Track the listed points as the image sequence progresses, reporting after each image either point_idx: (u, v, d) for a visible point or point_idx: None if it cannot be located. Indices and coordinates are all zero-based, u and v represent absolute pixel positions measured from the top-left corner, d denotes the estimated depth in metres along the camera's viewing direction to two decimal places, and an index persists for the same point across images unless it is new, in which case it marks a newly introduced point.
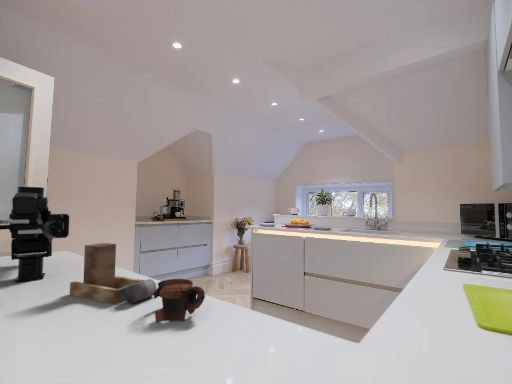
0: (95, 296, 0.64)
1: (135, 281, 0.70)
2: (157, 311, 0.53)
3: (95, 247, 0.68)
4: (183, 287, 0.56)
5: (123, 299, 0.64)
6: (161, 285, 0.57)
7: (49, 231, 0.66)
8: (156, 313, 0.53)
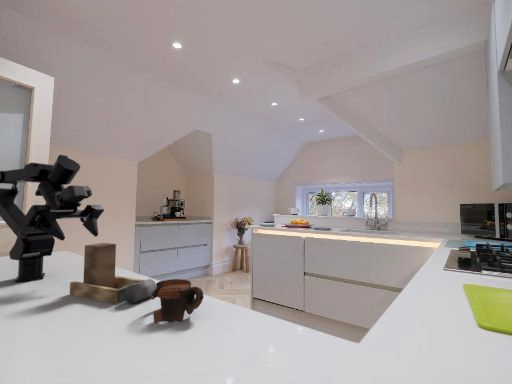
0: (95, 296, 0.64)
1: (135, 281, 0.70)
2: (155, 312, 0.53)
3: (96, 247, 0.68)
4: (181, 288, 0.56)
5: (123, 299, 0.64)
6: (159, 285, 0.57)
7: None
8: (155, 313, 0.53)
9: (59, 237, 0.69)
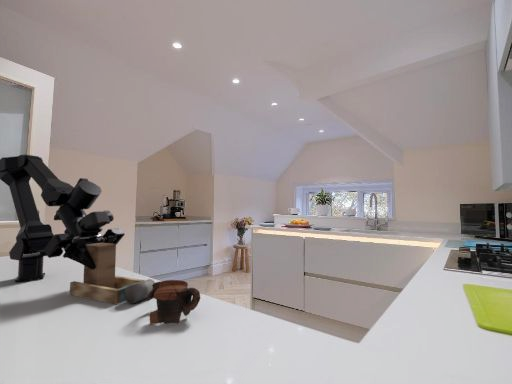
0: (95, 296, 0.64)
1: (135, 281, 0.70)
2: (151, 313, 0.52)
3: (96, 247, 0.68)
4: (178, 289, 0.55)
5: (123, 299, 0.64)
6: (156, 286, 0.56)
7: None
8: (151, 315, 0.52)
9: (90, 266, 0.68)
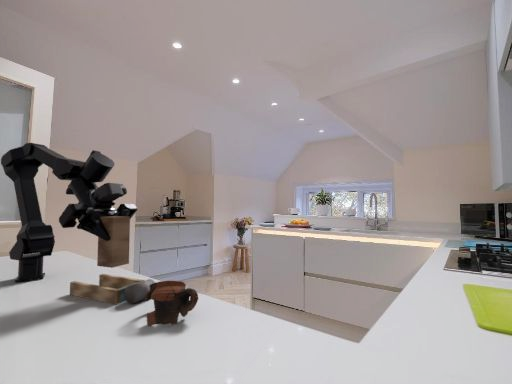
0: (95, 296, 0.64)
1: (135, 281, 0.70)
2: (149, 314, 0.52)
3: (110, 218, 0.67)
4: (175, 289, 0.55)
5: (123, 299, 0.64)
6: (153, 287, 0.55)
7: None
8: (148, 316, 0.52)
9: (104, 237, 0.66)
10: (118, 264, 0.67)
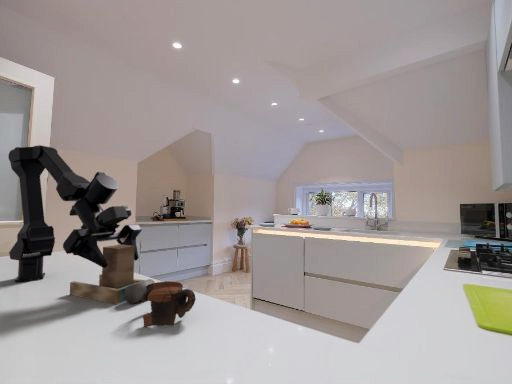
0: (95, 296, 0.64)
1: (135, 281, 0.70)
2: (145, 315, 0.51)
3: (114, 249, 0.66)
4: (172, 290, 0.54)
5: (123, 299, 0.64)
6: (150, 288, 0.55)
7: None
8: (145, 317, 0.51)
9: (101, 264, 0.63)
10: None
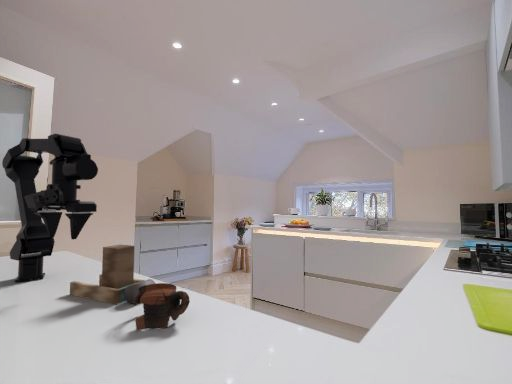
0: (95, 296, 0.64)
1: (135, 281, 0.70)
2: (138, 318, 0.50)
3: (114, 249, 0.66)
4: (166, 292, 0.53)
5: (123, 299, 0.64)
6: (142, 290, 0.53)
7: (79, 228, 0.73)
8: (137, 320, 0.50)
9: None
10: None
